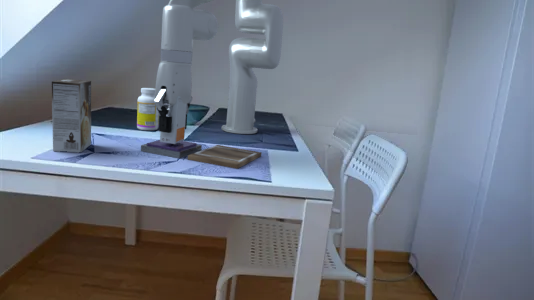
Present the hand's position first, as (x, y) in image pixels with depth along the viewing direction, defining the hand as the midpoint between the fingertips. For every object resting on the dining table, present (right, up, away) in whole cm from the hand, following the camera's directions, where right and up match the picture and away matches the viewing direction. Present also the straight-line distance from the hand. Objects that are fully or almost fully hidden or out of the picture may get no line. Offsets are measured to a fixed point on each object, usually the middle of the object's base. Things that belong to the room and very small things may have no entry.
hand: (173, 129), depth 104 cm
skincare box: (0, -3, +1) cm, 3 cm away
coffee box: (-23, -5, -5) cm, 24 cm away
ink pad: (-1, -5, +1) cm, 6 cm away
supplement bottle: (-14, +1, +27) cm, 31 cm away
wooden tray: (+14, -7, 0) cm, 15 cm away
